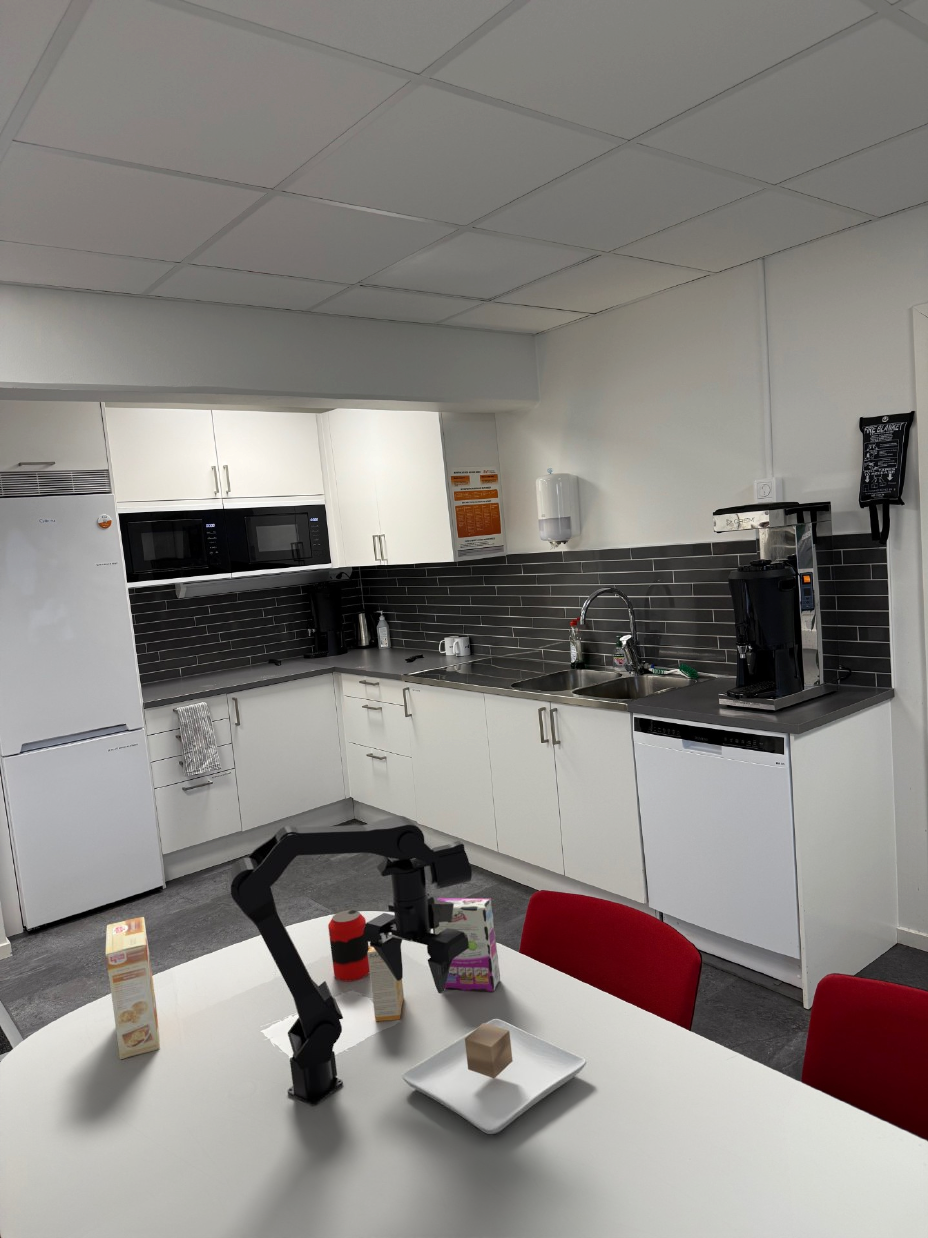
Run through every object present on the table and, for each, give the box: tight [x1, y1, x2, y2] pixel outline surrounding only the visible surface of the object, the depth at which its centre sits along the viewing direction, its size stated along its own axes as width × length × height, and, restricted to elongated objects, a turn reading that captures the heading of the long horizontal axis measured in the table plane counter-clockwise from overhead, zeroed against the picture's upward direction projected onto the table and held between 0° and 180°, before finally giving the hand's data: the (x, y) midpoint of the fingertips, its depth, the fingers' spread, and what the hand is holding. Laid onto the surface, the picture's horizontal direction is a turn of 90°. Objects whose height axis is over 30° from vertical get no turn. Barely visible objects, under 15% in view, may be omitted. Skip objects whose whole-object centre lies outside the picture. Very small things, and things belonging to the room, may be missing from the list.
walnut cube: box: [465, 1022, 513, 1078], centre depth 134 cm, size 5×5×5 cm
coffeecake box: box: [105, 916, 161, 1060], centre depth 160 cm, size 15×7×20 cm, turn 22°
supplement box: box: [368, 945, 404, 1022], centre depth 160 cm, size 8×5×13 cm, turn 179°
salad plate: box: [401, 1018, 587, 1135], centre depth 134 cm, size 21×21×3 cm
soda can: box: [327, 909, 370, 982], centre depth 176 cm, size 8×8×12 cm
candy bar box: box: [432, 897, 501, 992], centre depth 166 cm, size 11×5×16 cm, turn 73°
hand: (420, 986), depth 143 cm, fingers open, 9 cm apart
